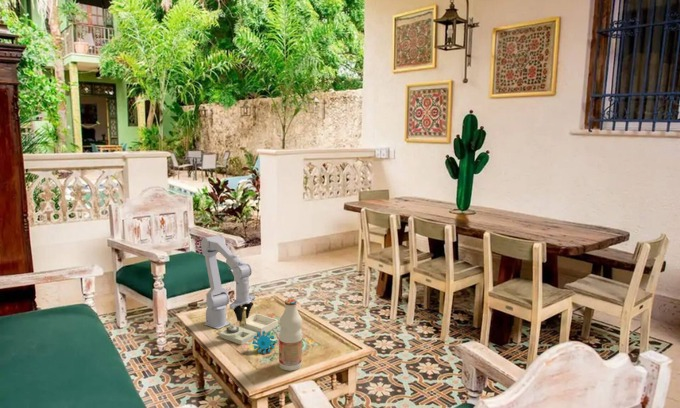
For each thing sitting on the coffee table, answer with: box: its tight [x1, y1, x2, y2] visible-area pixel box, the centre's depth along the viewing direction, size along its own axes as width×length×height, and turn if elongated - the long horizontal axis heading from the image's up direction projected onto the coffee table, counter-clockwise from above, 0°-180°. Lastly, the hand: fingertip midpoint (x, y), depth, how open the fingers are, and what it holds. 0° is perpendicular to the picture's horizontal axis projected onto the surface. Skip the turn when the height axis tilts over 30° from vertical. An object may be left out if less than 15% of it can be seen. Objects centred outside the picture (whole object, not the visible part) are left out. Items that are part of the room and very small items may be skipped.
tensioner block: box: [218, 324, 258, 346], centre depth 216 cm, size 14×10×4 cm
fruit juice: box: [278, 298, 303, 371], centre depth 190 cm, size 9×9×28 cm
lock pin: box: [238, 305, 247, 327], centre depth 213 cm, size 4×4×9 cm
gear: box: [252, 331, 279, 355], centre depth 205 cm, size 11×6×10 cm
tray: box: [238, 313, 279, 336], centre depth 227 cm, size 14×12×4 cm
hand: (242, 319), depth 213 cm, fingers closed on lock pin, 4 cm apart
